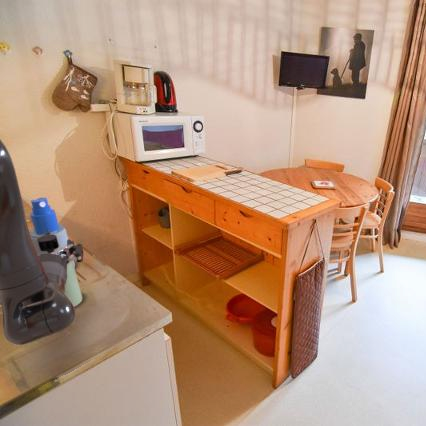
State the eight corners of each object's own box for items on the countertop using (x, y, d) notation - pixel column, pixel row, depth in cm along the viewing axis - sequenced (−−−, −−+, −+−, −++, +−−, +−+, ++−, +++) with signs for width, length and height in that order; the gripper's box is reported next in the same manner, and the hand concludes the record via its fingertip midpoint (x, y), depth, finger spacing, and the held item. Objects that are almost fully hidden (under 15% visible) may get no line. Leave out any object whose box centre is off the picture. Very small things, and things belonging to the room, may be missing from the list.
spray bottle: (80, 267, 108) (62, 199, 98) (48, 279, 100) (26, 207, 91) (67, 259, 112) (49, 192, 102) (36, 270, 105) (13, 199, 95)
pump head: (60, 253, 85) (56, 239, 83) (40, 256, 83) (36, 242, 81) (60, 241, 90) (57, 228, 88) (42, 245, 88) (38, 231, 86)
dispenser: (82, 305, 91) (70, 261, 85) (46, 315, 87) (31, 269, 81) (82, 290, 97) (71, 248, 91) (48, 299, 92) (34, 254, 87)
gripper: (80, 255, 76) (79, 228, 88) (-2, 270, 68) (9, 239, 80) (86, 281, 79) (84, 251, 91) (9, 299, 71) (18, 264, 83)
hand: (49, 246), depth 85 cm, fingers open, 8 cm apart
